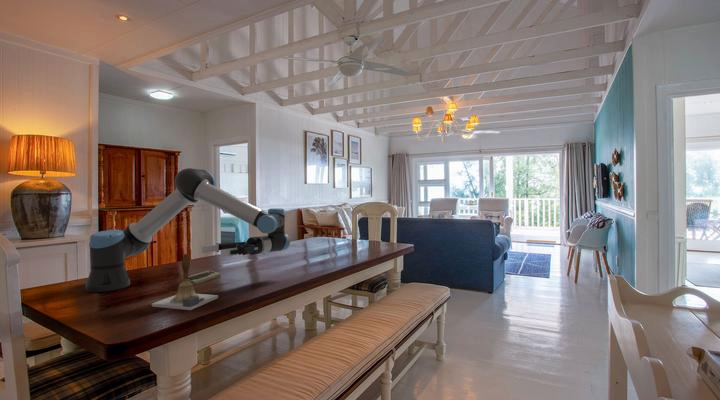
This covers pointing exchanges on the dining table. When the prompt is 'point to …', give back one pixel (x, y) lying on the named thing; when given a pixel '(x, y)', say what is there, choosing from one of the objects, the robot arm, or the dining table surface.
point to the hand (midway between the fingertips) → (211, 251)
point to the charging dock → (180, 306)
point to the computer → (202, 277)
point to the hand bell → (185, 282)
